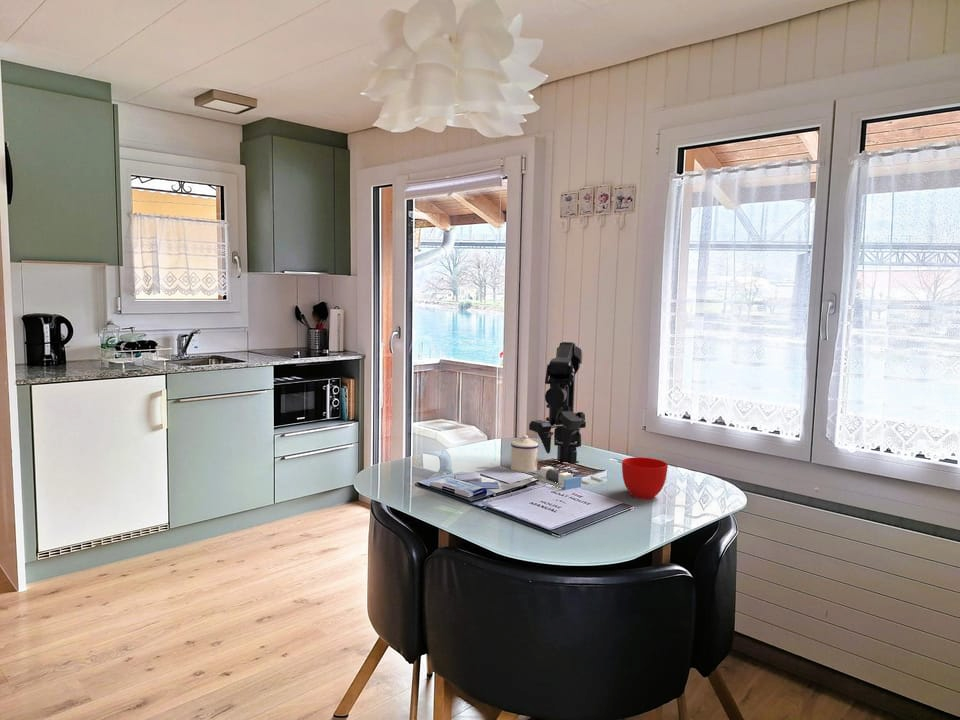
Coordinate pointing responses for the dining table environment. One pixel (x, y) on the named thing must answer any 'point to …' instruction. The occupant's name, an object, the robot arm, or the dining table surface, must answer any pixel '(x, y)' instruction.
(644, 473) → the ceramic cup
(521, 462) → the cream lidded jar
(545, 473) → the cream and grey dumbbell
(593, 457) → the dining table surface
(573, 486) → the white ribbed plate
